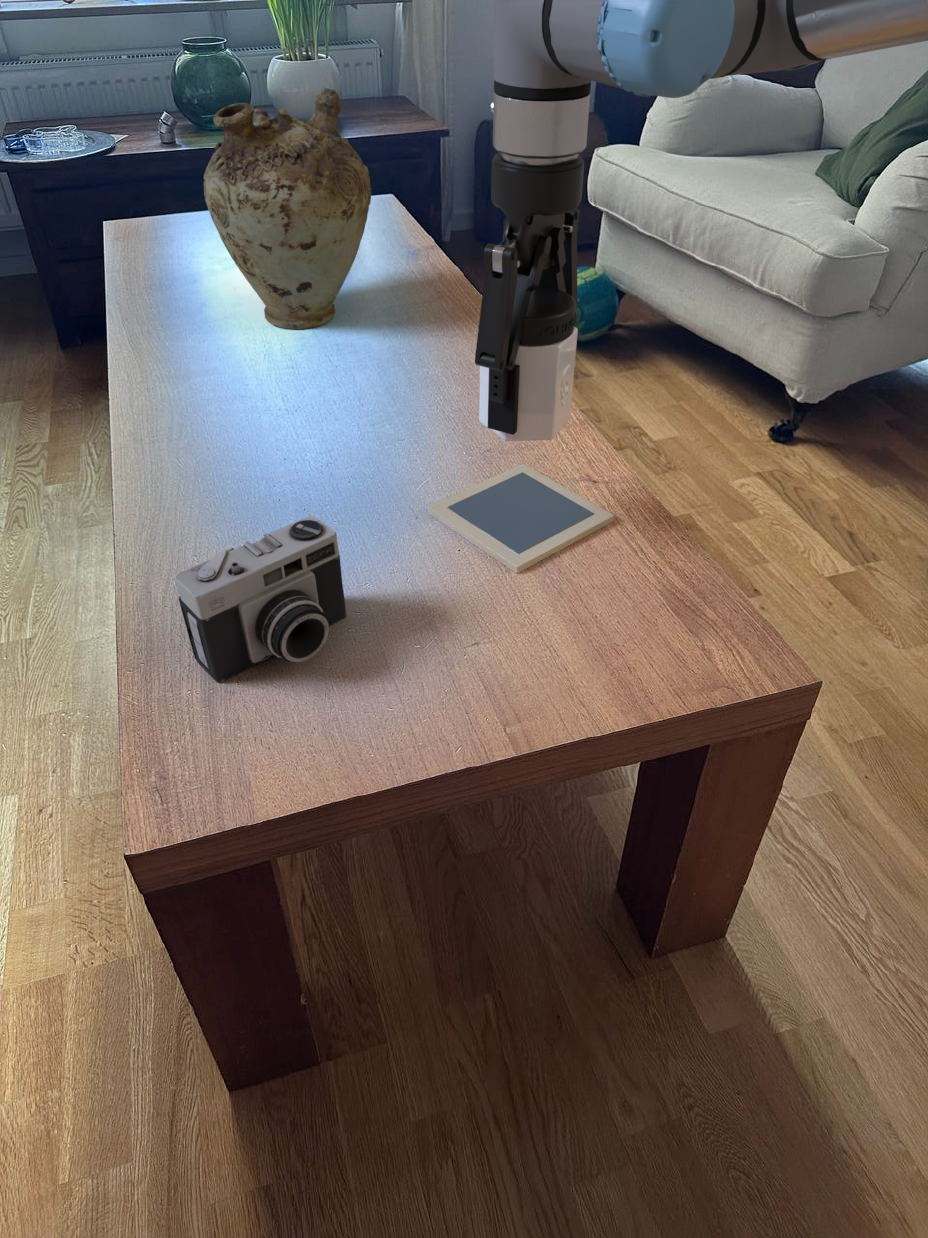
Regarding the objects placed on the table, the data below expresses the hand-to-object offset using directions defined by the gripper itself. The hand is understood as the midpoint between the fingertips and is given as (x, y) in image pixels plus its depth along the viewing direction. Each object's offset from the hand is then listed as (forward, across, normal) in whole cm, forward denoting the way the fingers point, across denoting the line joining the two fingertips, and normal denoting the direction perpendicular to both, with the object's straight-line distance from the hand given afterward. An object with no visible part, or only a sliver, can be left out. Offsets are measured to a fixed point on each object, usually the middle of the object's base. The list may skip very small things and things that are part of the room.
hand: (525, 408), depth 86 cm
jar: (+2, 0, 0) cm, 2 cm away
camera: (+13, +29, -9) cm, 33 cm away
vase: (+13, -33, -54) cm, 64 cm away
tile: (+13, 0, 0) cm, 13 cm away
